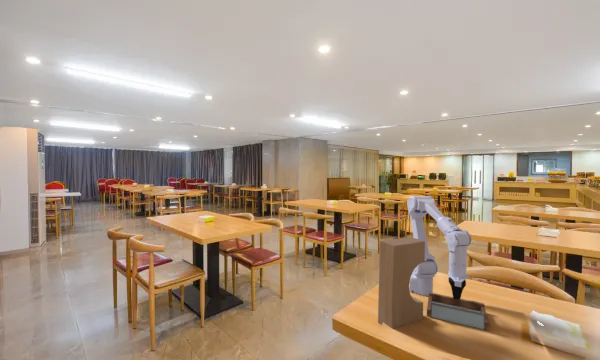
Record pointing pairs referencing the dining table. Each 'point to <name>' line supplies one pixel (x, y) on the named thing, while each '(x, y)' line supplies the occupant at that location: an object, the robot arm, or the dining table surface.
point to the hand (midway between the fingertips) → (456, 298)
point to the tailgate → (458, 315)
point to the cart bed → (459, 303)
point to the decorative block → (399, 281)
